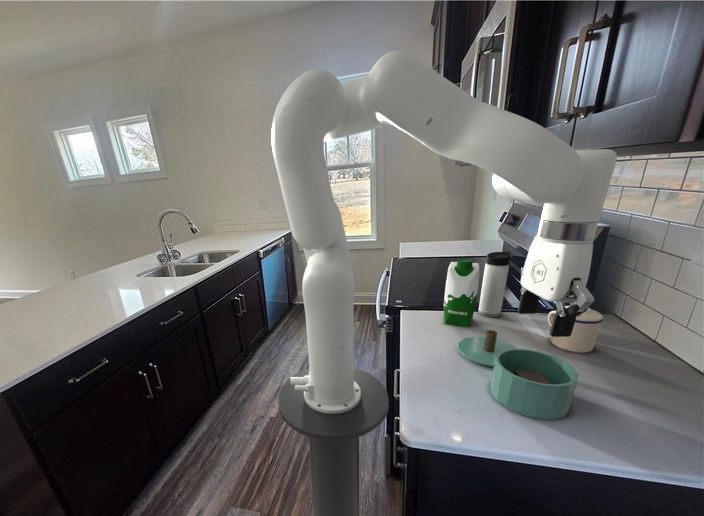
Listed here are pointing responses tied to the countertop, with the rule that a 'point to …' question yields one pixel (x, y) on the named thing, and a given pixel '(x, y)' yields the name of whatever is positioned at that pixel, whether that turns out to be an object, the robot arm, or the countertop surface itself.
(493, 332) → the lid
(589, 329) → the teacup with lid
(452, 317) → the milk carton
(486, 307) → the travel mug
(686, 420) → the countertop surface
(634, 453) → the countertop surface
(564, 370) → the bowl
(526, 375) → the block
